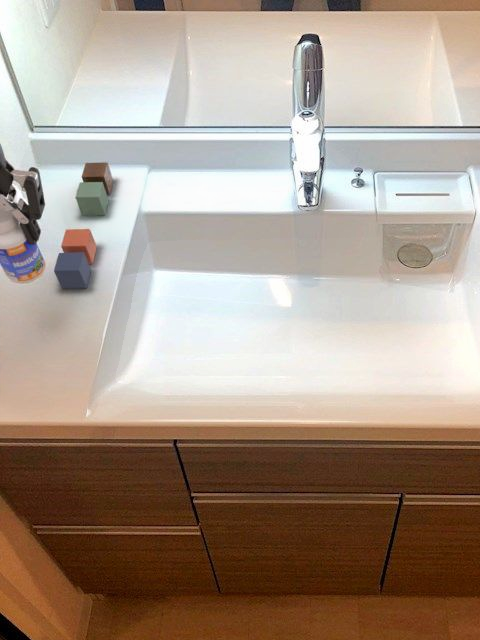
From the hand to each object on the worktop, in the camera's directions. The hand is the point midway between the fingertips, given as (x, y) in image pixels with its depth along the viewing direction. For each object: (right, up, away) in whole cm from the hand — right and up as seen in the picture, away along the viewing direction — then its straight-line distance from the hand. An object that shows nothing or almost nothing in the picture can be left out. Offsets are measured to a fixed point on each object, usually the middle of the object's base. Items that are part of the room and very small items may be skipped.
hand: (11, 240), depth 83 cm
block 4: (+2, -1, +19) cm, 20 cm away
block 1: (+2, +18, +32) cm, 37 cm away
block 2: (+2, +13, +29) cm, 32 cm away
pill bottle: (0, -3, +5) cm, 6 cm away
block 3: (+2, +3, +22) cm, 23 cm away
